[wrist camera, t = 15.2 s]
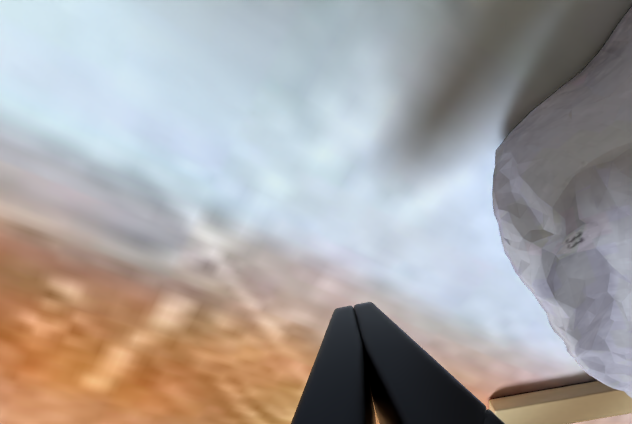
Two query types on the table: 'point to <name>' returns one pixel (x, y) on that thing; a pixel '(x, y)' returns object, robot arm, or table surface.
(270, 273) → the table surface
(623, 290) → the stone block
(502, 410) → the maple strip
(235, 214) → the table surface
